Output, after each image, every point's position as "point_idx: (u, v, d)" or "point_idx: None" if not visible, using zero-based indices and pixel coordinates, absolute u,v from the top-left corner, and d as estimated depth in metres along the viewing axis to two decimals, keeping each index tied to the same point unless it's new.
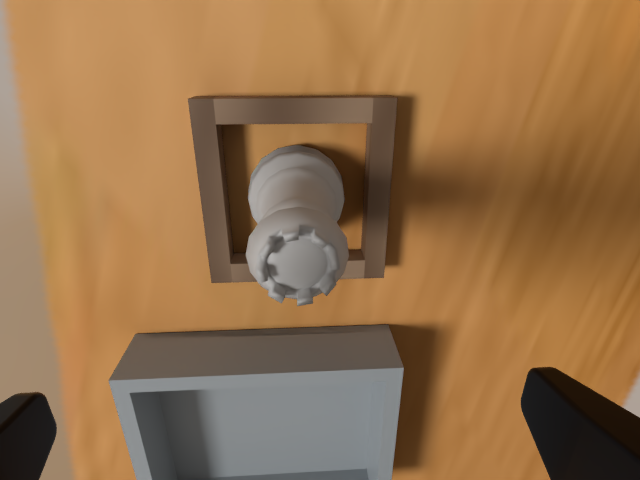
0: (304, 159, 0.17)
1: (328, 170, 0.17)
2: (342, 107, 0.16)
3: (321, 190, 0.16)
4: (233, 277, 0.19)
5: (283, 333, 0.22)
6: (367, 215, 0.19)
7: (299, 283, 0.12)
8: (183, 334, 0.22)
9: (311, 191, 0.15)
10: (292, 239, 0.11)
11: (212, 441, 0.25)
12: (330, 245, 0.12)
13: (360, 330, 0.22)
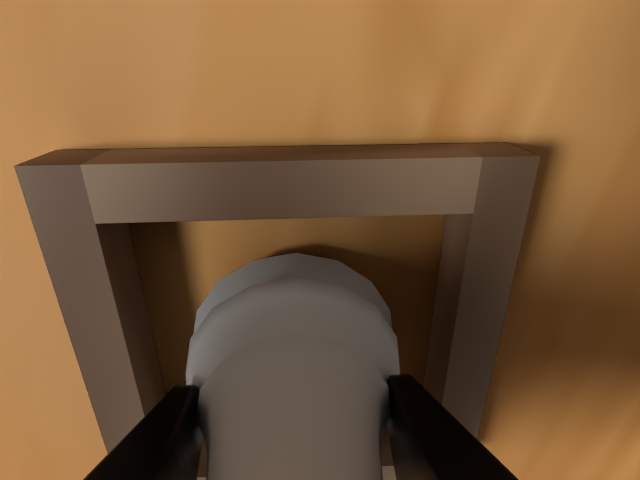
0: (313, 305, 0.07)
1: (369, 324, 0.07)
2: (406, 179, 0.07)
3: (359, 407, 0.06)
4: None
5: None
6: (444, 390, 0.09)
7: None
8: None
9: (336, 439, 0.05)
10: None
11: None
12: None
13: None
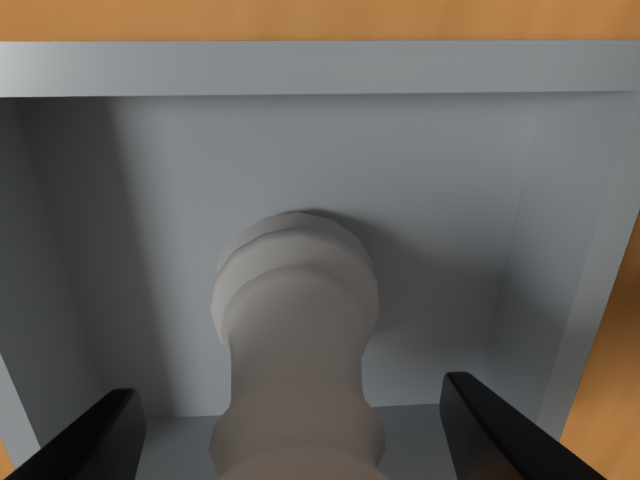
0: (312, 246, 0.09)
1: (355, 264, 0.09)
2: None
3: (344, 315, 0.08)
4: None
5: None
6: None
7: None
8: None
9: (328, 329, 0.07)
10: None
11: (176, 336, 0.12)
12: None
13: None
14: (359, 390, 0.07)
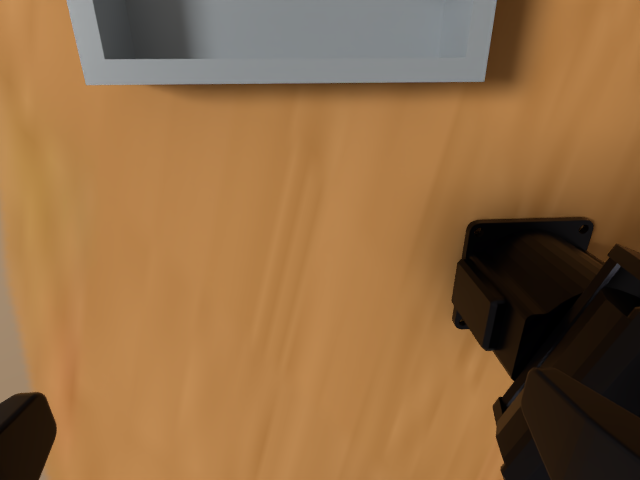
0: None
1: None
2: None
3: None
4: None
5: None
6: None
7: None
8: None
9: None
10: None
11: None
12: None
13: None
14: None
